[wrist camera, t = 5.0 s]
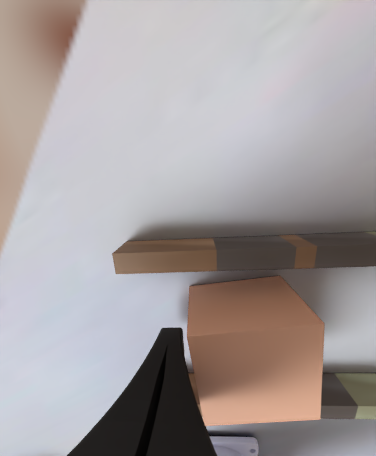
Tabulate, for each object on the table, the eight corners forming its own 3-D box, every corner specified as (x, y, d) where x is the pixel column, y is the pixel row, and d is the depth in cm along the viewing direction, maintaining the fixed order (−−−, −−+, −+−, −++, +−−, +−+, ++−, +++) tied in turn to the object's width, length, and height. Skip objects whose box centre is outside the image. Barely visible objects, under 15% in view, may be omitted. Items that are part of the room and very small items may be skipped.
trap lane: (435, 385, 13) (477, 420, 11) (148, 384, 14) (141, 415, 12) (500, 226, 10) (574, 236, 8) (126, 241, 11) (112, 253, 9)
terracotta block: (282, 348, 13) (320, 419, 9) (201, 354, 13) (204, 425, 9) (280, 275, 11) (324, 323, 7) (189, 286, 12) (186, 336, 8)
